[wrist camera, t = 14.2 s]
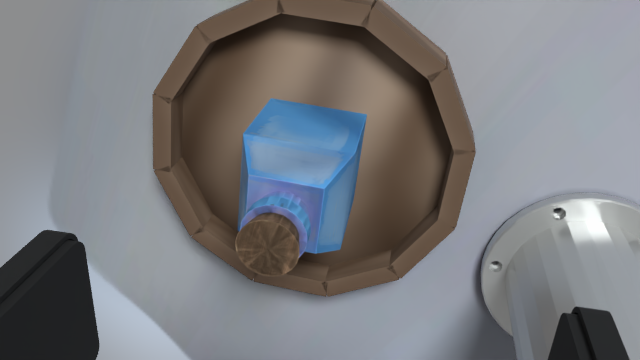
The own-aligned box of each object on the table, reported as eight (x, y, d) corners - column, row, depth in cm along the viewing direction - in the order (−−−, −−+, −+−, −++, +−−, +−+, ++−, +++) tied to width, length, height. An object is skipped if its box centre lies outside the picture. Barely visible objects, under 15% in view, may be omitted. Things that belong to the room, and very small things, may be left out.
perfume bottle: (353, 200, 40) (323, 312, 30) (264, 183, 41) (203, 287, 30) (366, 114, 37) (339, 204, 27) (270, 98, 38) (206, 180, 27)
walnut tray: (503, 15, 34) (508, 26, 32) (432, 292, 44) (431, 318, 41) (172, -36, 36) (151, -30, 34) (170, 238, 46) (154, 260, 43)
